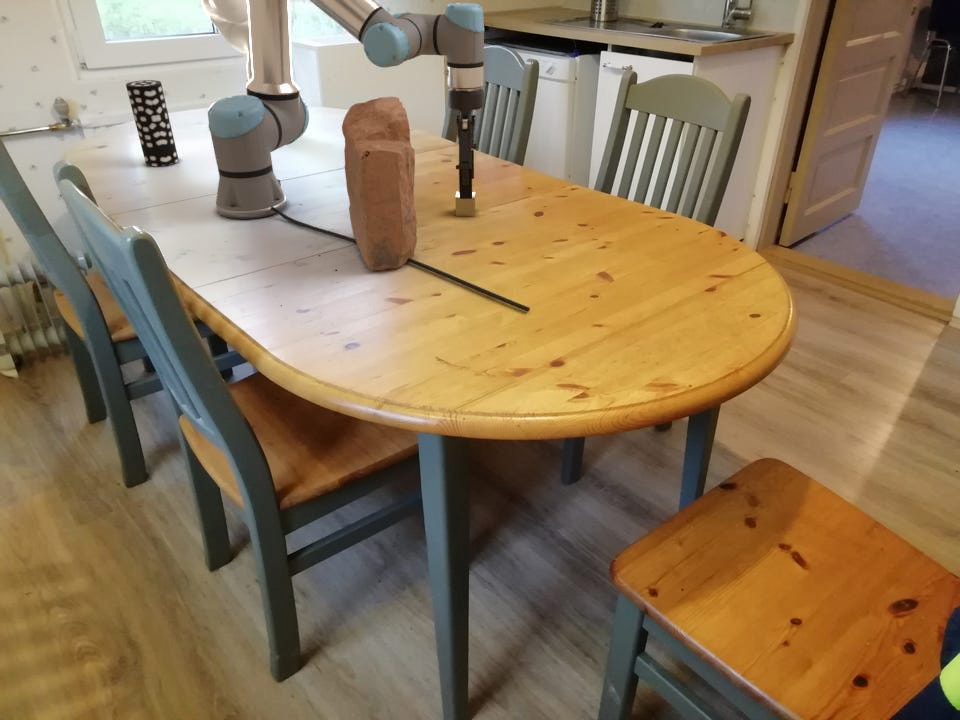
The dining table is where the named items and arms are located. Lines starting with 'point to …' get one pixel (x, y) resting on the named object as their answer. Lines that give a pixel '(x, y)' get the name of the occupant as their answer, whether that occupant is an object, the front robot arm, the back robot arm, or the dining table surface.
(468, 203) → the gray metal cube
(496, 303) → the dining table surface
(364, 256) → the stone
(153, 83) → the polka dot cylinder
